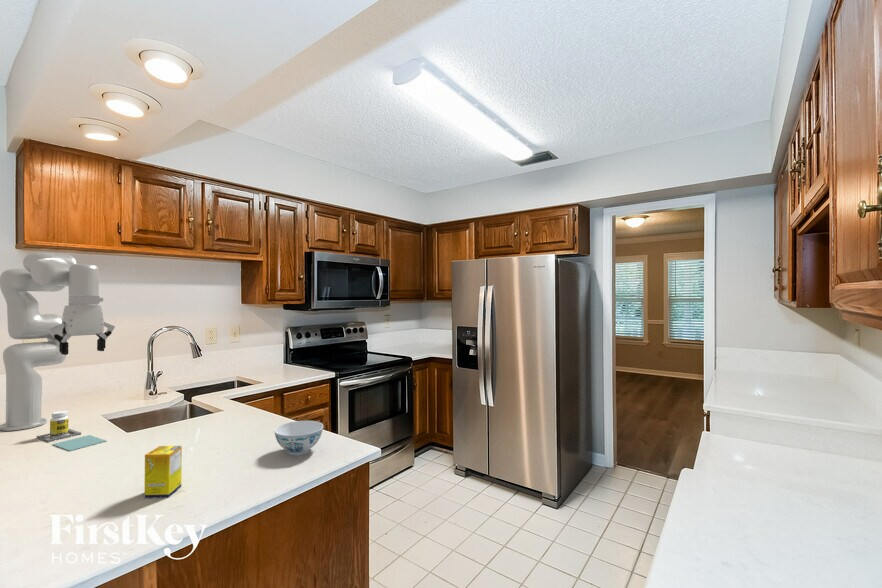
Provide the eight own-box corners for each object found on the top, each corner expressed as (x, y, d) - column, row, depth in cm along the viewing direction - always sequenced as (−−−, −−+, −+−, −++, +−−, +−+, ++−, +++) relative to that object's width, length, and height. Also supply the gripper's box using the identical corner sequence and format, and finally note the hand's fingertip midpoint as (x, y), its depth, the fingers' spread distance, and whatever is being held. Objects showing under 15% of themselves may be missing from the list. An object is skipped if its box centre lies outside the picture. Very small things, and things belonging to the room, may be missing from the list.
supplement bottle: (56, 438, 140) (57, 414, 141) (46, 437, 141) (46, 413, 141) (71, 434, 145) (72, 410, 145) (61, 433, 146) (61, 409, 146)
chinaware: (332, 446, 135) (332, 423, 136) (303, 463, 121) (303, 438, 121) (295, 440, 140) (295, 418, 140) (263, 456, 126) (263, 432, 126)
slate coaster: (36, 437, 141) (36, 436, 141) (69, 430, 149) (69, 428, 149) (48, 442, 137) (48, 440, 137) (81, 434, 145) (81, 432, 145)
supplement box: (158, 487, 106) (158, 445, 106) (182, 486, 106) (182, 445, 106) (143, 498, 100) (143, 454, 100) (168, 497, 100) (169, 453, 100)
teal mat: (52, 445, 135) (52, 444, 135) (89, 435, 144) (89, 435, 144) (69, 451, 129) (69, 450, 129) (106, 441, 138) (106, 440, 138)
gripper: (108, 301, 144) (108, 349, 144) (44, 301, 128) (43, 355, 128) (119, 301, 140) (119, 350, 140) (55, 301, 125) (54, 356, 125)
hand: (83, 352), depth 134 cm, fingers open, 9 cm apart
